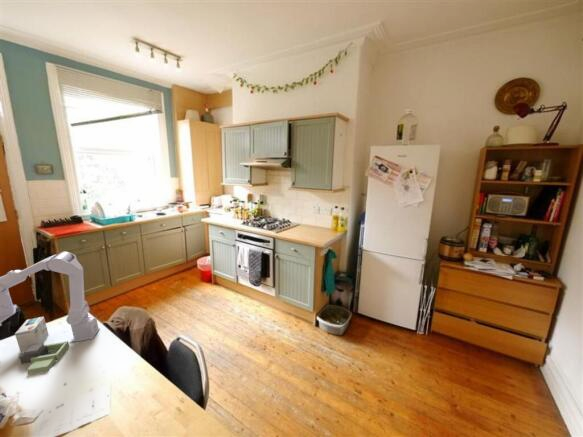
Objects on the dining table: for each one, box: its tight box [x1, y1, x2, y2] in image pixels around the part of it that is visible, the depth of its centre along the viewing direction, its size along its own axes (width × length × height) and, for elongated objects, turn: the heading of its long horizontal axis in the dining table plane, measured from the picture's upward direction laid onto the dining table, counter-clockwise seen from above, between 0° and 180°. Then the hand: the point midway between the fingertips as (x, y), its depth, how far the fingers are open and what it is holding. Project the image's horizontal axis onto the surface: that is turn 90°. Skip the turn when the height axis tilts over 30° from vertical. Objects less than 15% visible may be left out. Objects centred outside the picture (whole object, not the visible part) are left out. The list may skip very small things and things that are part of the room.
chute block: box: [18, 343, 49, 365], centre depth 110 cm, size 7×5×6 cm
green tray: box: [26, 340, 70, 375], centre depth 110 cm, size 10×14×3 cm
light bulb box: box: [14, 316, 49, 354], centre depth 118 cm, size 11×7×11 cm, turn 25°
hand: (11, 330), depth 113 cm, fingers open, 7 cm apart
